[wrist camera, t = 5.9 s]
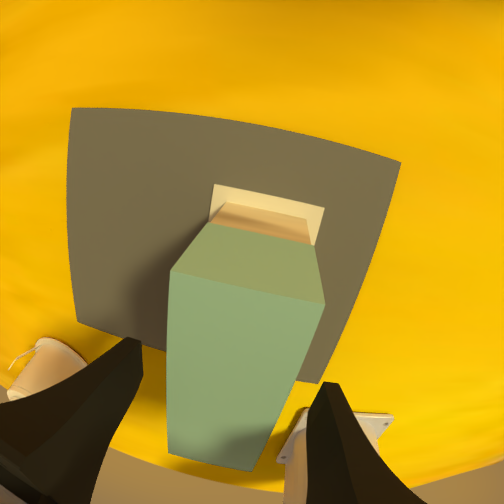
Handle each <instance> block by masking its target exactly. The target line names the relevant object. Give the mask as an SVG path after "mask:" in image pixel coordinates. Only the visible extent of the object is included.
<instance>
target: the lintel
mask: <svg viewBox="0 0 504 504" xmlns="http://www.w3.org/2000/svg"><path fill="white" fill-rule="evenodd" d="M324 307H325V300H324V294H323V289H322V283H321V278H320V273H319V268H318V263H317V258H316V253H315V248H314V245H310V244H305V243H301V242H296V241H292V240H287V239H283V238H278V237H274V236H269V235H265V234H260V233H256V232H251V231H246V230H242V229H237V228H232V227H228V226H223V225H218V224H213V223H209V222H207V224H206V225H205V226H204V227H203V229H202V230H201V231H200V232H199V234H198V235H197V236H196V238H195V239H194V240H193V241H192V243H191V244H190V245H189V247H188V248H187V249H186V250H185V252H184V253H183V254H182V256H181V257H180V258H179V260H178V261H177V262H176V264H175V265H174V266H173V267H172V269H171V270H170V281H169V298H168V320H167V355H166V404H167V437H168V453H170V454H173V455H177V456H180V457H184V458H188V459H192V460H196V461H200V462H204V463H208V464H213V465H217V466H222V467H227V468H232V469H237V470H243V471H249V472H252V470H253V468H254V466H255V464H256V463H257V461H258V459H259V457H260V455H261V453H262V451H263V449H264V447H265V445H266V443H267V441H268V439H269V437H270V435H271V433H272V431H273V428H274V426H275V424H276V422H277V420H278V418H279V416H280V414H281V411H282V409H283V407H284V405H285V403H286V400H287V398H288V396H289V394H290V391H291V389H292V387H293V385H294V382H295V380H296V378H297V375H298V373H299V371H300V368H301V366H302V363H303V361H304V359H305V356H306V354H307V351H308V349H309V346H310V344H311V341H312V339H313V336H314V334H315V331H316V328H317V326H318V323H319V321H320V318H321V315H322V313H323V310H324Z"/></svg>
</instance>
